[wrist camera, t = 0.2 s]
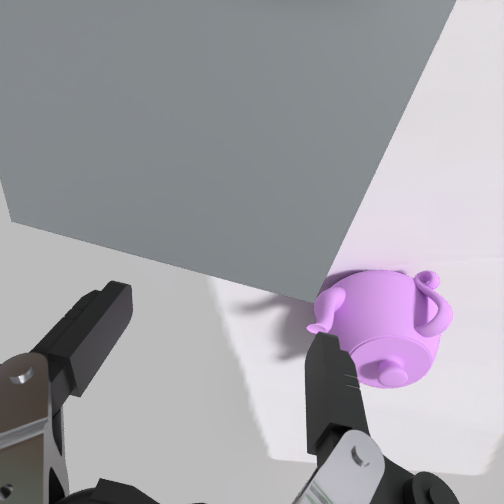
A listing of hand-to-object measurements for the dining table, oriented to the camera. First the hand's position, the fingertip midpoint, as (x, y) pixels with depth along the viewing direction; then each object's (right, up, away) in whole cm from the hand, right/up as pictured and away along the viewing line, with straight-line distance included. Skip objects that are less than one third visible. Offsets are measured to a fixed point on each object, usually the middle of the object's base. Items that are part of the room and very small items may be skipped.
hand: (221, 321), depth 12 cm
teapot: (+18, -4, +34) cm, 39 cm away
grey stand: (+3, +21, +21) cm, 30 cm away
